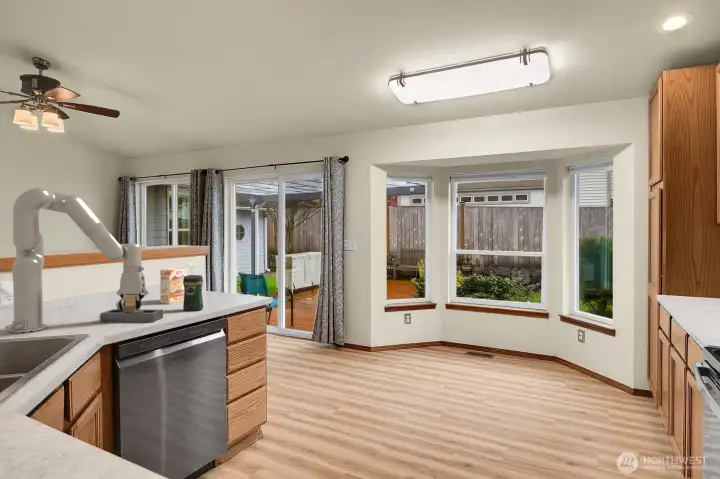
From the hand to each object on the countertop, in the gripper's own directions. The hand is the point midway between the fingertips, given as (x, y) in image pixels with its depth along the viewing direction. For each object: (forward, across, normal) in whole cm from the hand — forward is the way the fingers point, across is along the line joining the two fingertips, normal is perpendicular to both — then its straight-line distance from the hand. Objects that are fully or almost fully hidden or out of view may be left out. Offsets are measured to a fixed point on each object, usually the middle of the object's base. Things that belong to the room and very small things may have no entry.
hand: (132, 308), depth 197 cm
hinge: (+6, +9, -14) cm, 18 cm away
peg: (+3, 0, 0) cm, 3 cm away
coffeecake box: (+6, +1, -49) cm, 49 cm away
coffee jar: (+6, -19, -25) cm, 32 cm away
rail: (+6, 0, 0) cm, 6 cm away
